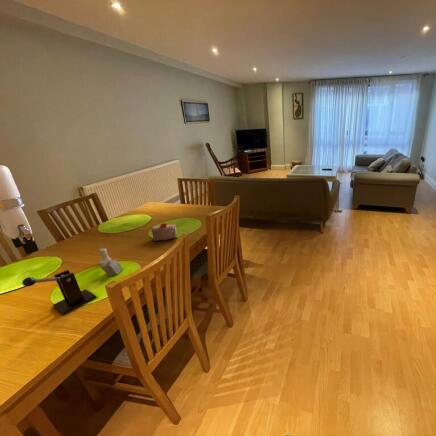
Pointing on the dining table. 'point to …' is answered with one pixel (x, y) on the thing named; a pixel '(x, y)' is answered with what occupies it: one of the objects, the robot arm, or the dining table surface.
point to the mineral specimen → (110, 267)
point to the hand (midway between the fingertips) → (27, 249)
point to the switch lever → (38, 280)
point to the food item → (164, 232)
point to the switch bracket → (71, 293)
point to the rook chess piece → (104, 254)
